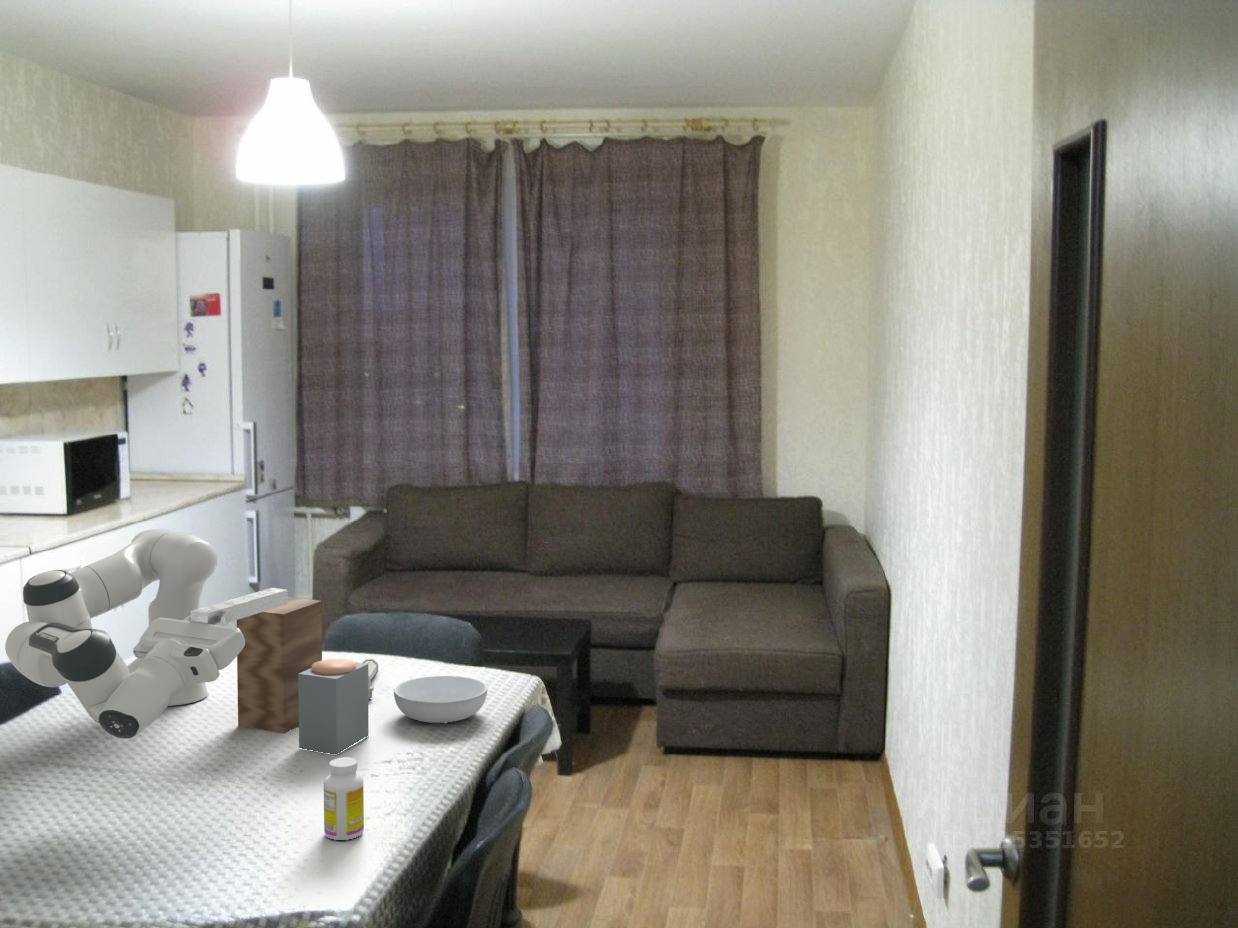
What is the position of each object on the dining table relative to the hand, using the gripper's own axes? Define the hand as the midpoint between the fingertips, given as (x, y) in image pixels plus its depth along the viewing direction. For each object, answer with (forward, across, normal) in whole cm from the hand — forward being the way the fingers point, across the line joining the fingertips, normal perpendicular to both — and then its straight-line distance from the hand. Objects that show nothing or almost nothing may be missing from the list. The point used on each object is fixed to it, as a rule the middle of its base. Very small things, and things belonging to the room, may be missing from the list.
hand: (216, 612), depth 229 cm
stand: (+11, -8, -43) cm, 45 cm away
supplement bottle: (-28, +39, -20) cm, 52 cm away
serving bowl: (+25, +22, -51) cm, 61 cm away
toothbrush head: (+36, -6, -57) cm, 68 cm away
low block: (+4, +11, -39) cm, 41 cm away
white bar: (+5, 0, -5) cm, 7 cm away
